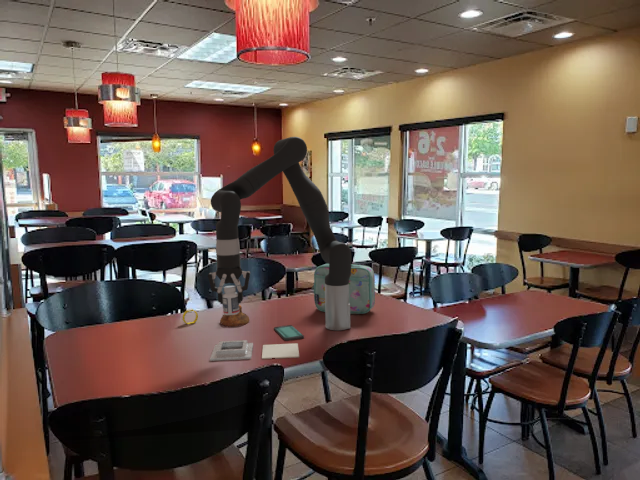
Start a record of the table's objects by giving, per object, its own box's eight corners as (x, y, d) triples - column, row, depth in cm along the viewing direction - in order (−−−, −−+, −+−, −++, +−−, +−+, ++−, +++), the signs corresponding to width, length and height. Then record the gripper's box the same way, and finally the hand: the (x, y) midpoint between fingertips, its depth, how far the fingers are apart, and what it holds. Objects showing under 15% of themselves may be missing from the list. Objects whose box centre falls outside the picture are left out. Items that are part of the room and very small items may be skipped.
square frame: (253, 344, 169) (252, 338, 168) (251, 359, 156) (250, 351, 156) (215, 346, 168) (215, 339, 167) (210, 361, 155) (209, 353, 154)
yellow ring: (185, 326, 192) (183, 312, 191) (182, 324, 194) (180, 310, 193) (199, 322, 195) (197, 308, 194) (196, 320, 198) (194, 306, 197)
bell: (252, 318, 200) (251, 301, 200) (245, 327, 189) (244, 309, 188) (225, 318, 202) (224, 301, 201) (216, 327, 190) (215, 309, 189)
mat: (297, 344, 168) (297, 343, 168) (299, 357, 157) (299, 356, 157) (263, 346, 167) (263, 344, 167) (261, 359, 156) (261, 357, 156)
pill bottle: (240, 310, 163) (239, 284, 161) (238, 315, 157) (237, 288, 156) (224, 311, 162) (223, 285, 161) (221, 315, 157) (220, 289, 156)
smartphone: (291, 324, 188) (304, 335, 175) (291, 327, 189) (304, 339, 175) (273, 326, 186) (285, 338, 172) (273, 330, 186) (285, 342, 172)
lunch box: (309, 312, 207) (308, 263, 204) (317, 306, 216) (316, 259, 213) (371, 317, 199) (371, 265, 196) (376, 310, 209) (376, 261, 206)
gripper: (251, 249, 161) (253, 299, 164) (207, 251, 160) (210, 301, 163) (249, 253, 154) (252, 305, 156) (203, 255, 153) (206, 307, 155)
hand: (230, 302), depth 159 cm, fingers closed on pill bottle, 5 cm apart
